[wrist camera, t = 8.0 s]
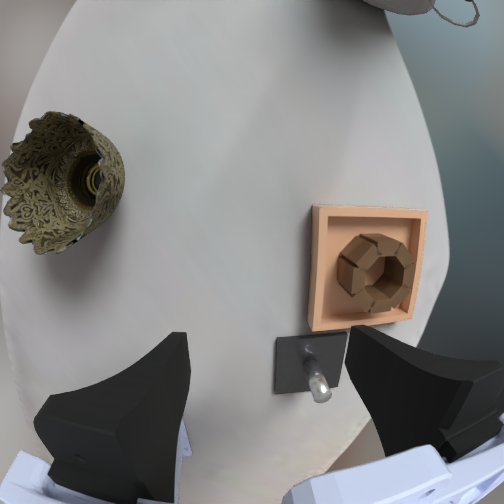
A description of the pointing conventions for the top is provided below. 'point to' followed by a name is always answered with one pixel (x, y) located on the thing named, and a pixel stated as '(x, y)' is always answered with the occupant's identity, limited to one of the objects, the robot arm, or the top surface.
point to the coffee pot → (416, 8)
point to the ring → (389, 283)
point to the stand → (310, 364)
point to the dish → (337, 299)
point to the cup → (61, 182)
